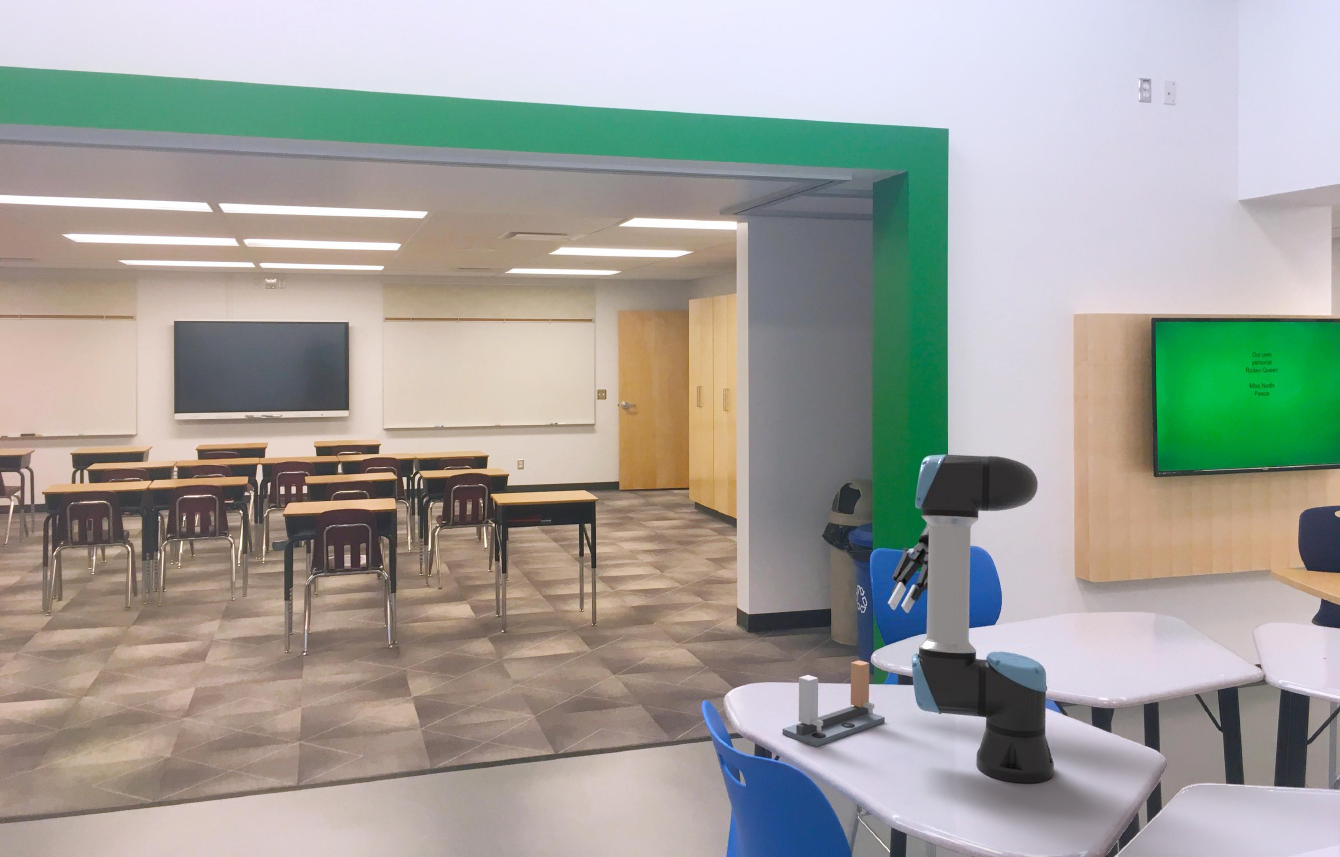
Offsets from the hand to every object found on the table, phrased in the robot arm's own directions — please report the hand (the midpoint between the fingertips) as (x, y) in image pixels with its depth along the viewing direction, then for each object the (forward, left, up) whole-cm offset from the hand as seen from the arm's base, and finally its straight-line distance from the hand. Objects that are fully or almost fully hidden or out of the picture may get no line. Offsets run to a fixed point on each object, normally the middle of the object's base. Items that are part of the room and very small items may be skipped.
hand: (898, 607), depth 246 cm
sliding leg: (-7, +14, -22) cm, 27 cm away
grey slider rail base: (-9, +23, -24) cm, 34 cm away
